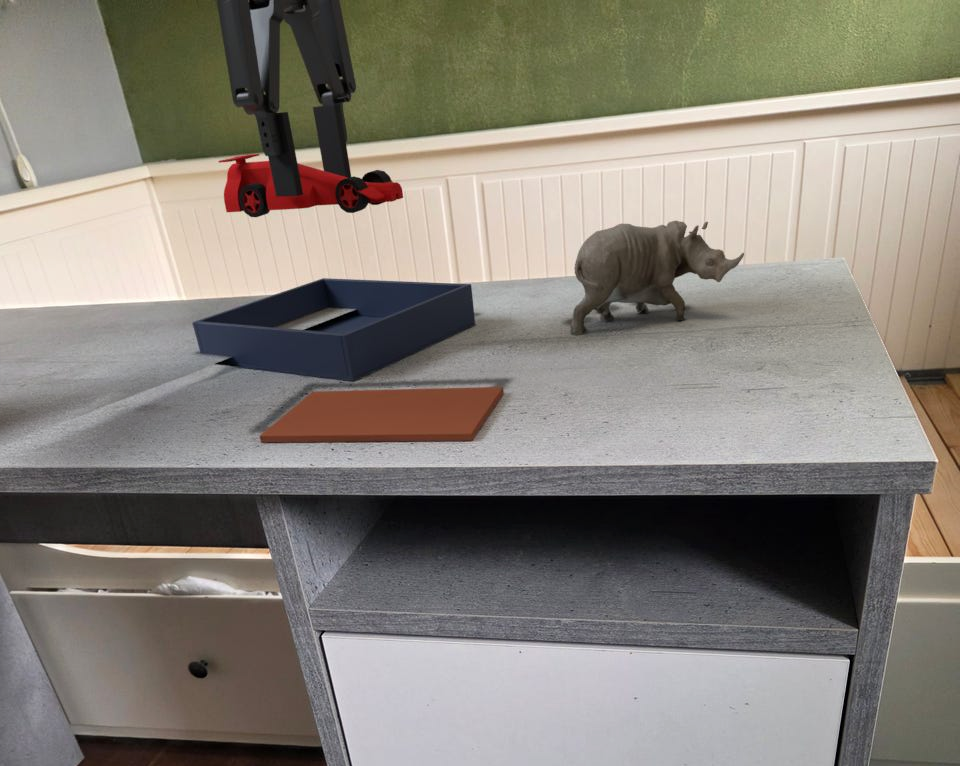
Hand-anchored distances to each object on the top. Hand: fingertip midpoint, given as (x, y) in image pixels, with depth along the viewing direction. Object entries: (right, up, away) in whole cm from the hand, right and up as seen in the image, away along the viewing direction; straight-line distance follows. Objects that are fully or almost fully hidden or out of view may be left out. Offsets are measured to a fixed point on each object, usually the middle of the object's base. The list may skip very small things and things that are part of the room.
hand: (315, 188), depth 83 cm
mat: (+8, -24, -9) cm, 27 cm away
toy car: (0, -2, +1) cm, 2 cm away
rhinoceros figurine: (+33, -10, +8) cm, 35 cm away
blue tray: (0, -10, +13) cm, 17 cm away
